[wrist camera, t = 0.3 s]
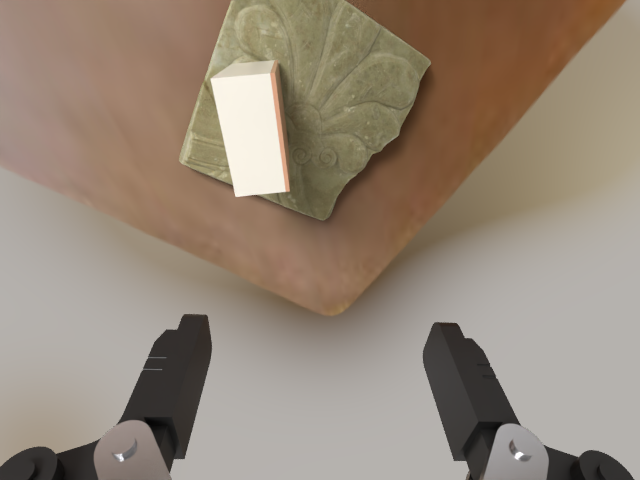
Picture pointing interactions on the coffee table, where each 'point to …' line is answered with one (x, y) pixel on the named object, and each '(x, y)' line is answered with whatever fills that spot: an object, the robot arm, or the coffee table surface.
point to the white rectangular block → (253, 126)
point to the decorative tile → (313, 93)
